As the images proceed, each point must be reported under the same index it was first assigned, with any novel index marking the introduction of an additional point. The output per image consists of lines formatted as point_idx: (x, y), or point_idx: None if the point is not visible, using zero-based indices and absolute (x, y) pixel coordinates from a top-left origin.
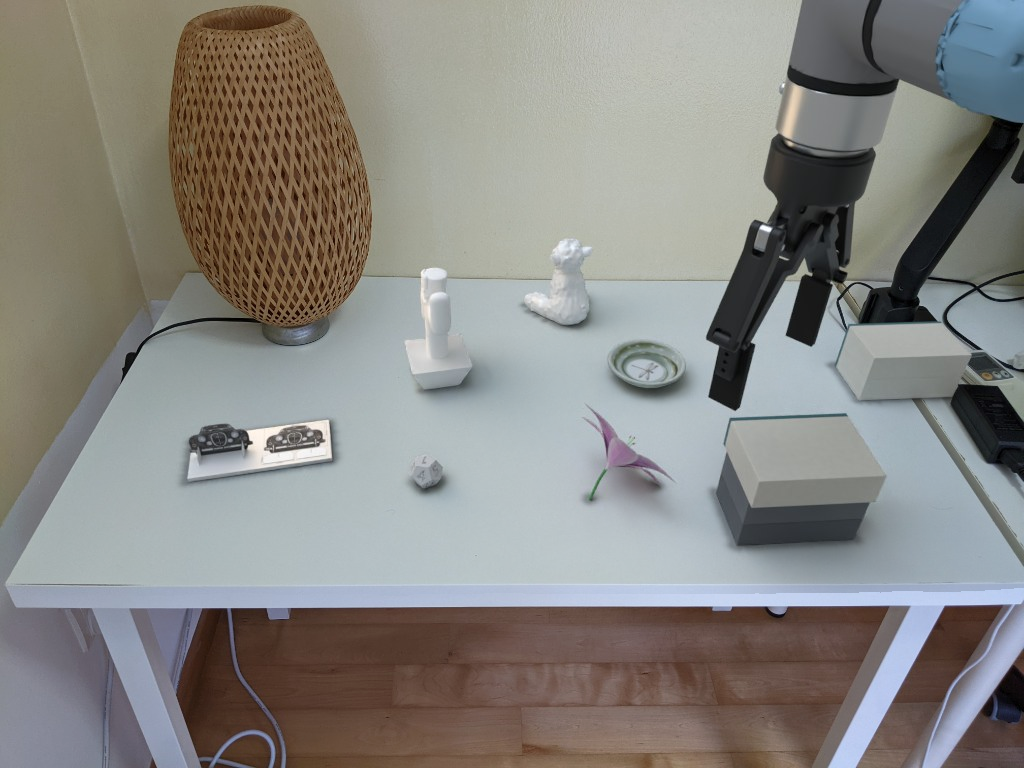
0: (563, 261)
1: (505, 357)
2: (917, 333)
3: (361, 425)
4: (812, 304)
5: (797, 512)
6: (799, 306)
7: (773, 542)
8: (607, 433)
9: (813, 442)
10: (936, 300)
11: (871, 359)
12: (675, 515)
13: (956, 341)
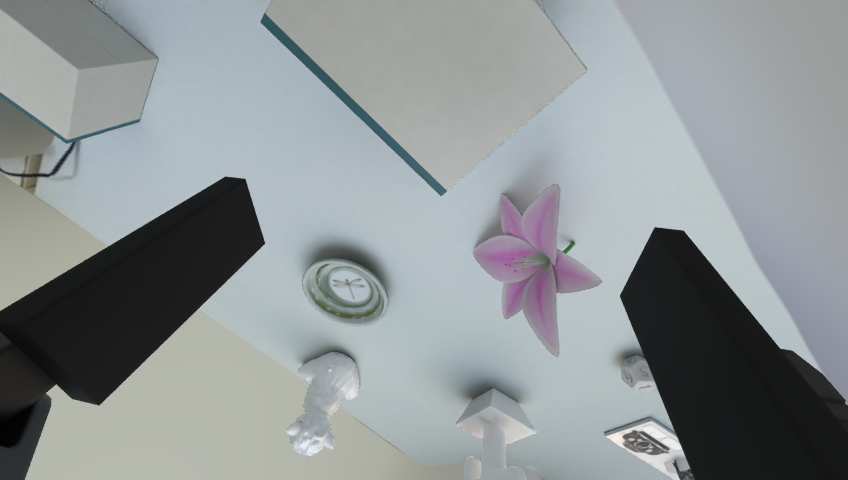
0: (325, 435)
1: (431, 375)
2: None
3: (593, 417)
4: (150, 285)
5: None
6: (188, 297)
7: None
8: (537, 295)
9: (395, 33)
10: None
11: (85, 73)
12: (540, 154)
13: None
